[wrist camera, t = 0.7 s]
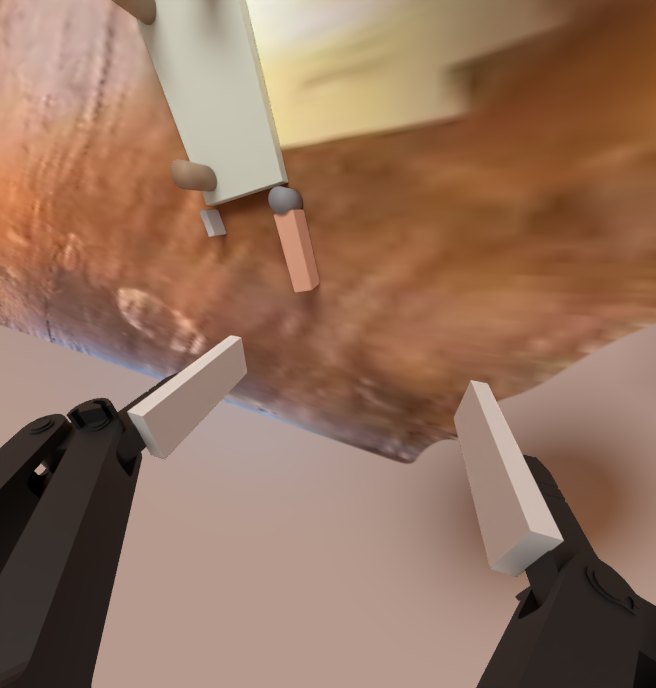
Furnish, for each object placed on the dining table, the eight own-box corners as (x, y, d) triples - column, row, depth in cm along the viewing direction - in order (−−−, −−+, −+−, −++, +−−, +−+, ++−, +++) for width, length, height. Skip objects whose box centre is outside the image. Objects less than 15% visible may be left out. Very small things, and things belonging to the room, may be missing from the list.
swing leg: (279, 192, 28) (265, 189, 25) (299, 186, 27) (286, 183, 24) (303, 285, 33) (293, 292, 30) (320, 282, 32) (312, 290, 29)
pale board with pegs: (135, 5, 24) (69, -46, 19) (229, -69, 20) (175, -156, 15) (220, 235, 33) (190, 239, 28) (296, 215, 29) (275, 216, 24)
